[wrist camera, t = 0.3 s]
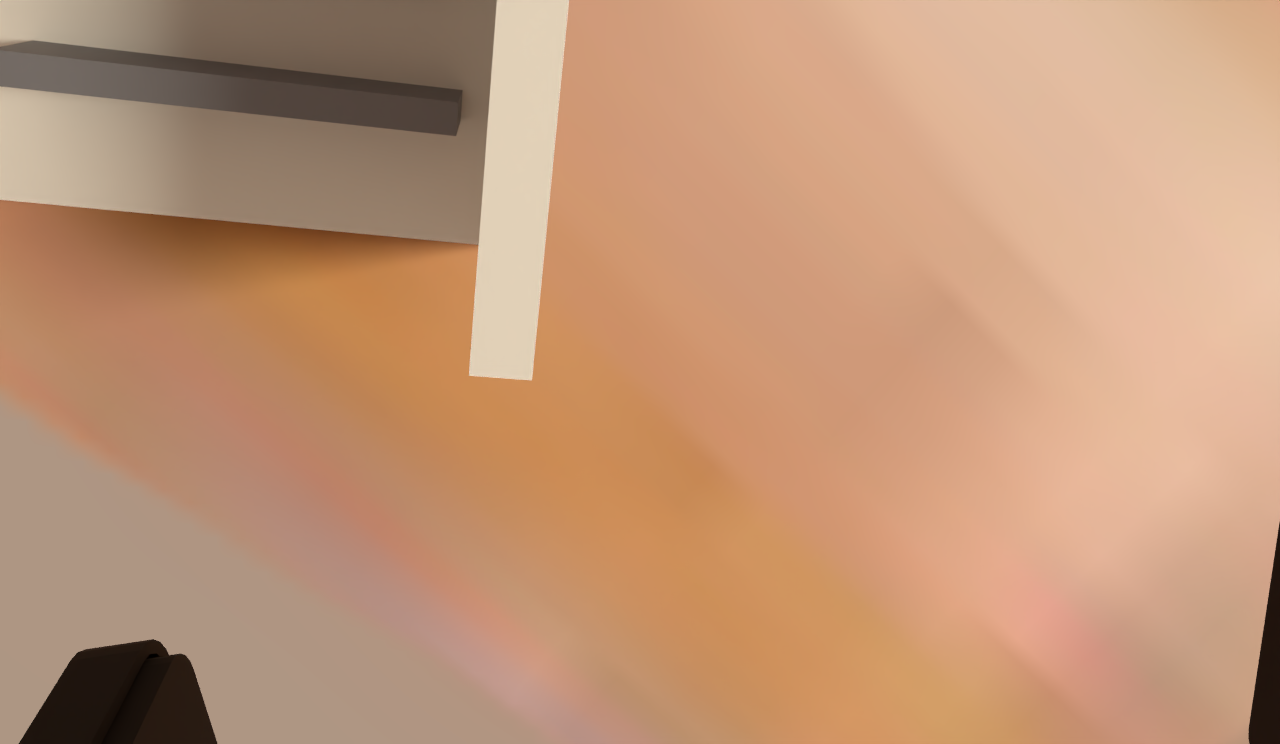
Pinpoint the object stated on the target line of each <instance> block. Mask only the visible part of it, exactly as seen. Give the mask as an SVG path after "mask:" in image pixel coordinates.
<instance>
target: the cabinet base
mask: <svg viewBox="0 0 1280 744" xmlns="http://www.w3.org/2000/svg"><path fill="white" fill-rule="evenodd" d="M568 5H569V0H0V200H9V201H19V202H30V203H41V204H51V205H62V206H72V207H83V208H94V209H104V210H115V211H125V212H136V213H147V214H157V215H168V216H178V217H189V218H200V219H210V220H221V221H231V222H242V223H253V224H263V225H274V226H284V227H295V228H306V229H316V230H327V231H337V232H348V233H359V234H369V235H380V236H391V237H401V238H412V239H422V240H433V241H444V242H454V243H465V244H475V245H479V247H478V260H477V274H476V287H475V301H474V314H473V328H472V341H471V355H470V368H469V376H481V377H494V378H508V379H521V380H532V374H533V364H534V354H535V343H536V333H537V323H538V313H539V303H540V292H541V282H542V272H543V262H544V251H545V241H546V231H547V221H548V210H549V200H550V190H551V180H552V169H553V159H554V149H555V139H556V128H557V118H558V108H559V98H560V87H561V77H562V67H563V57H564V46H565V36H566V26H567V16H568Z"/></svg>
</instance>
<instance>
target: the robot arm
mask: <svg viewBox="0 0 1280 744" xmlns="http://www.w3.org/2000/svg"><path fill="white" fill-rule="evenodd" d="M1249 743H1250V744H1280V523H1279V530H1278V537H1277V543H1276V550H1275V557H1274V564H1273V570H1272V577H1271V584H1270V590H1269V597H1268V604H1267V610H1266V617H1265V624H1264V630H1263V637H1262V644H1261V650H1260V657H1259V664H1258V671H1257V677H1256V684H1255V691H1254V697H1253V704H1252V711H1251V717H1250V724H1249ZM19 744H217V741H216V738H215V735H214V732H213V729H212V725H211V722H210V719H209V716H208V713H207V710H206V707H205V704H204V701H203V697H202V694H201V691H200V688H199V685H198V682H197V678H196V675H195V672H194V669H193V667H192V665H191V662H190V660H189V659H188V658H187V657H186V656H185V655H183V654H175V655H169V654H168V652H167V650H166V648H165V647H164V646H163V645H162V644H161V642H159V641H156V640H154V639H153V640H147V641H140V642H133V643H127V644H120V645H113V646H106V647H99V648H92V649H86V650H83V651H80V652H78V653H77V654H76V655H75V656H74V657H73V658H72V660H71V661H70V662H69V664H68V666H67V668H66V669H65V670H64V672H63V674H62V675H61V677H60V678H59V680H58V682H57V683H56V685H55V686H54V688H53V690H52V691H51V693H50V694H49V696H48V698H47V699H46V701H45V703H44V704H43V706H42V707H41V709H40V710H39V712H38V714H37V715H36V717H35V719H34V720H33V722H32V723H31V725H30V727H29V728H28V730H27V731H26V733H25V735H24V736H23V738H22V739H21V741H20V743H19Z"/></svg>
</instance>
